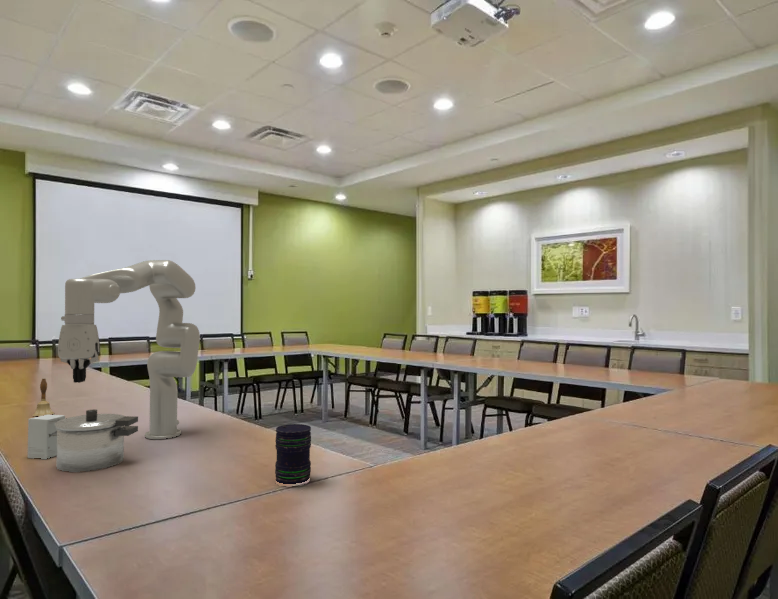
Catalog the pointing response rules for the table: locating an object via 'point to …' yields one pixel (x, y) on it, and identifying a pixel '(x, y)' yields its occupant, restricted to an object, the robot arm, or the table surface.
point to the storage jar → (293, 453)
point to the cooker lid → (94, 421)
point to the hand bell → (43, 402)
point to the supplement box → (43, 436)
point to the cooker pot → (91, 448)
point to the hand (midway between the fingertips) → (79, 381)
